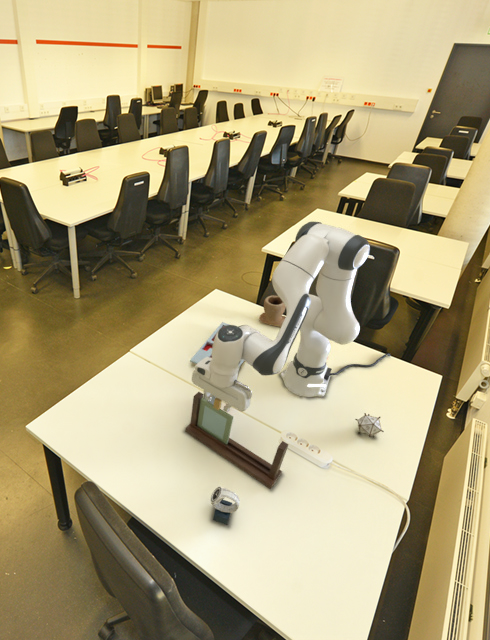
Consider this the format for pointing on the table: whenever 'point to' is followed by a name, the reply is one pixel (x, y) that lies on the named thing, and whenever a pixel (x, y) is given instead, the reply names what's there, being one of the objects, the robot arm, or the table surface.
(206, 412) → the window pane
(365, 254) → the robot arm
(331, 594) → the table surface
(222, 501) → the watch
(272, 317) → the stone cup
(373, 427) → the game die
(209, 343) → the maze game
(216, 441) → the window frame
